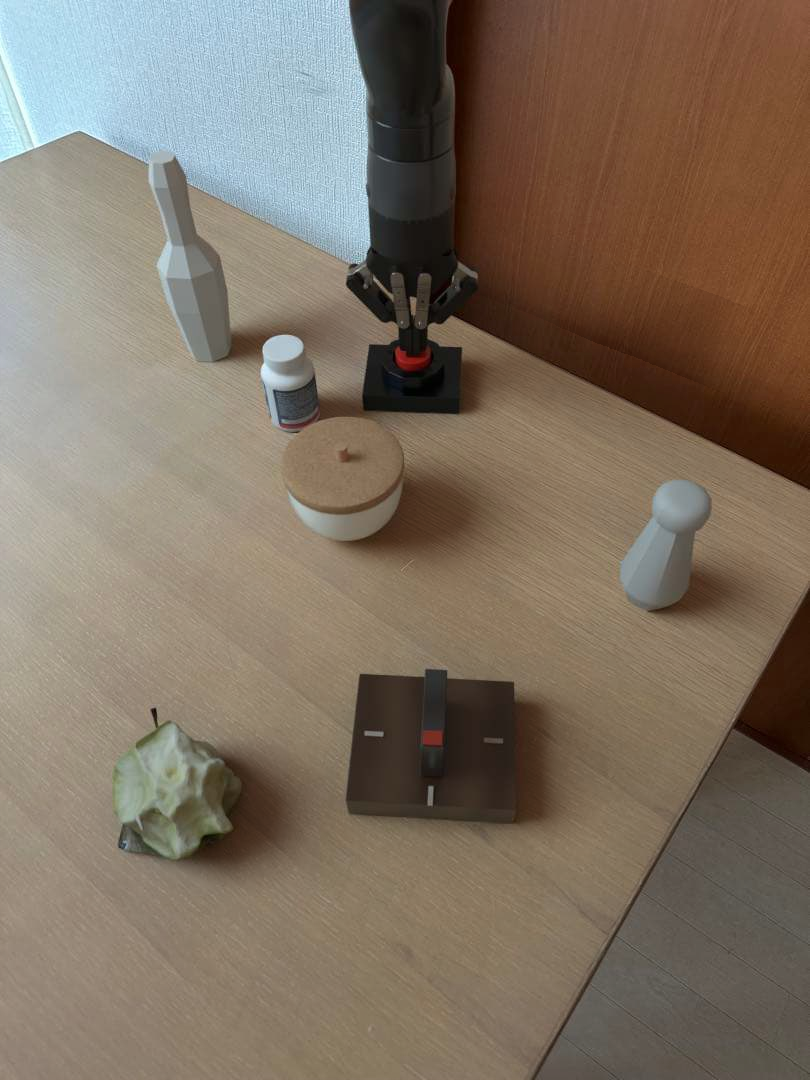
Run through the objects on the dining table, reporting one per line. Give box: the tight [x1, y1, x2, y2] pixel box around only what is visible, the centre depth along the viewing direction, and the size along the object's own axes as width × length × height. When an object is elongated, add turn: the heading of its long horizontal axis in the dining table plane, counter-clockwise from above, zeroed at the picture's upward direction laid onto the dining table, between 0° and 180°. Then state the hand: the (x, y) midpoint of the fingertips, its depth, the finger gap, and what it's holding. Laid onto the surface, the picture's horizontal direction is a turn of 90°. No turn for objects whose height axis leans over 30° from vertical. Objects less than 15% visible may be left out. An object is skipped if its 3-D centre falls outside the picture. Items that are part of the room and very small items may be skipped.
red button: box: [396, 345, 431, 371], centre depth 85 cm, size 4×4×2 cm
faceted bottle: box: [148, 150, 233, 363], centre depth 84 cm, size 6×6×22 cm
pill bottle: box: [260, 334, 321, 433], centre depth 83 cm, size 5×5×9 cm
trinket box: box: [280, 416, 405, 542], centre depth 74 cm, size 11×11×9 cm
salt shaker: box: [619, 478, 713, 612], centre depth 67 cm, size 6×6×13 cm
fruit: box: [112, 707, 242, 862], centre depth 59 cm, size 9×9×8 cm
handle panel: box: [345, 673, 517, 825], centre depth 62 cm, size 12×10×3 cm
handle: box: [420, 668, 448, 777], centre depth 59 cm, size 6×2×5 cm, turn 176°
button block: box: [361, 338, 463, 415], centre depth 87 cm, size 10×8×4 cm
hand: (413, 351), depth 85 cm, fingers closed
